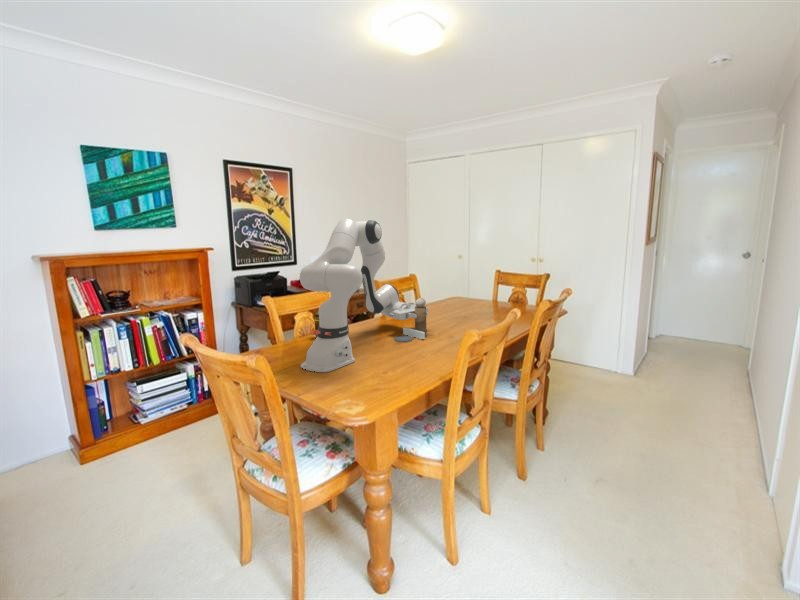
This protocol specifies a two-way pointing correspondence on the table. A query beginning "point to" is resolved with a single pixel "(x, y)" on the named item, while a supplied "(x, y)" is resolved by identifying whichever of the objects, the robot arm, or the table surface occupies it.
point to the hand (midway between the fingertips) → (421, 315)
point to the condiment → (316, 322)
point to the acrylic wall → (413, 333)
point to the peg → (420, 315)
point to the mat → (403, 338)
